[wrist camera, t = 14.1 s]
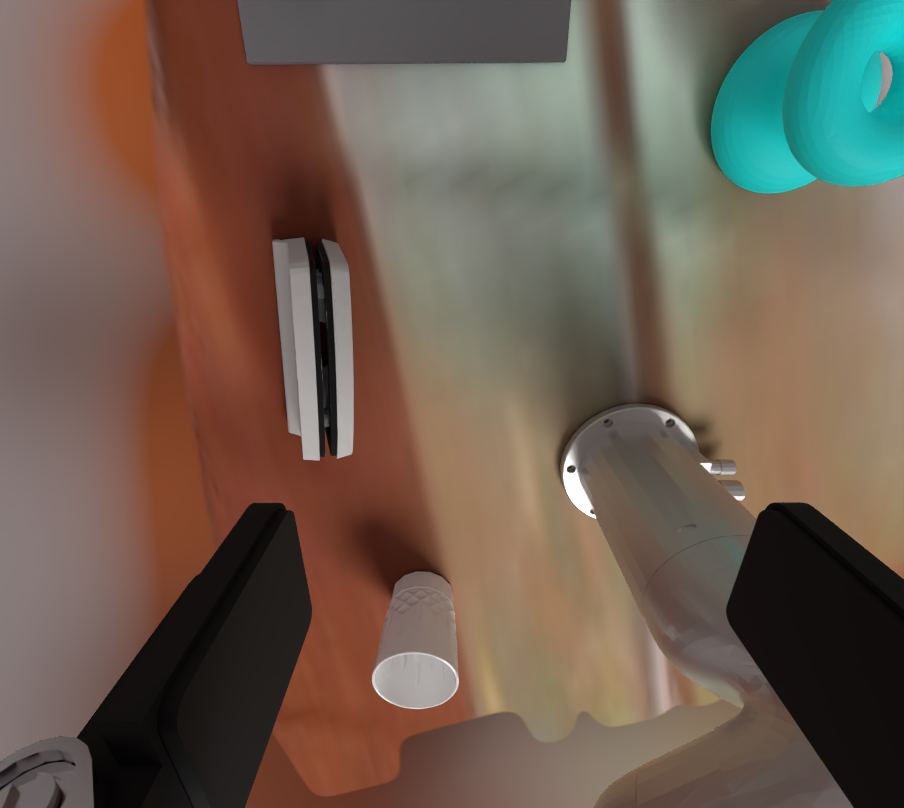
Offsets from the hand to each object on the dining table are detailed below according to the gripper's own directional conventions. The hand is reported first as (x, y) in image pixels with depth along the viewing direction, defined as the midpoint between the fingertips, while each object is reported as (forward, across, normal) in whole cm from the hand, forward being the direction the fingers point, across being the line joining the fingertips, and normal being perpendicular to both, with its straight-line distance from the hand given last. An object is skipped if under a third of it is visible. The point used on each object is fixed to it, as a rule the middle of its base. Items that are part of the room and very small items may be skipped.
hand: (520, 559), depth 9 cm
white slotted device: (+29, +12, +3) cm, 31 cm away
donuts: (+29, -21, -13) cm, 38 cm away
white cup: (+28, +5, +32) cm, 43 cm away
